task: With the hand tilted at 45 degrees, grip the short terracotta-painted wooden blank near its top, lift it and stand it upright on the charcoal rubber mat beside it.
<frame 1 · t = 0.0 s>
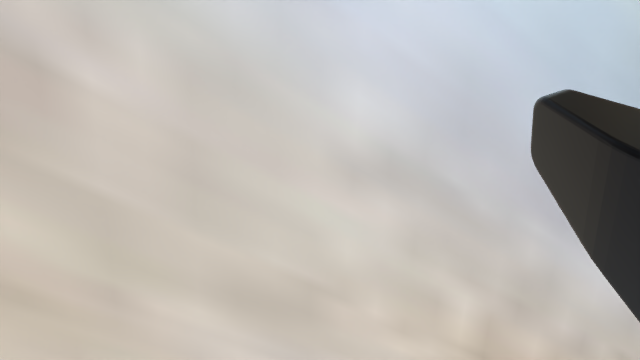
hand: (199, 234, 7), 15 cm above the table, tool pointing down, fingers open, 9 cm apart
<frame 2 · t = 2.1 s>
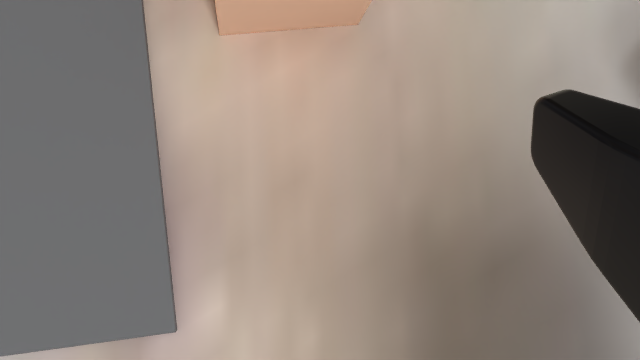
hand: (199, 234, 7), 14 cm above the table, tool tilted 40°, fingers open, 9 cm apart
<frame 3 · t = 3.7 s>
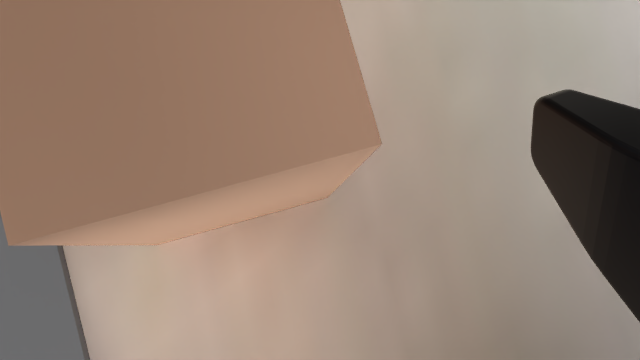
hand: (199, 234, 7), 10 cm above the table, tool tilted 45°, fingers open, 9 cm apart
terracotta block: (225, 154, 18), on the table
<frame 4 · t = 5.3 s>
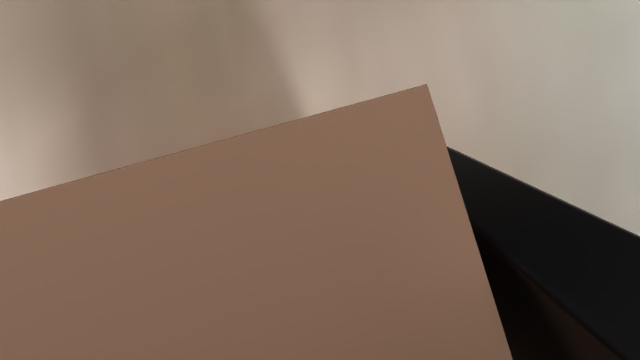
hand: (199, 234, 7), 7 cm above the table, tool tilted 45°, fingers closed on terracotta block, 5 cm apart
terracotta block: (254, 295, 14), on the table, touching gripper
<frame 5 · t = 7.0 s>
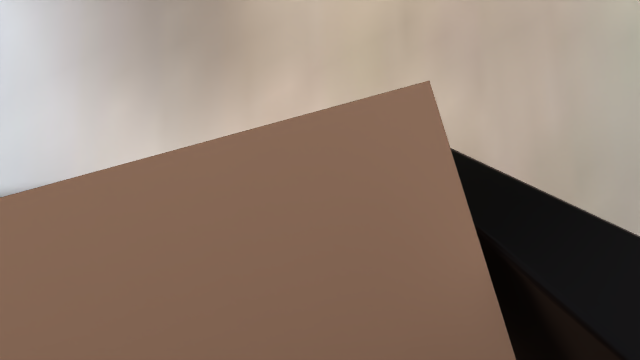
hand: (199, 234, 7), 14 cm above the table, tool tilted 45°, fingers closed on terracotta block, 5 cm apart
terracotta block: (255, 294, 14), point 6 cm above the table, touching gripper
when the fingers open (9 cm above the table, at t = 9.0 s): terracotta block drops 1 cm, resting on rubber mat.
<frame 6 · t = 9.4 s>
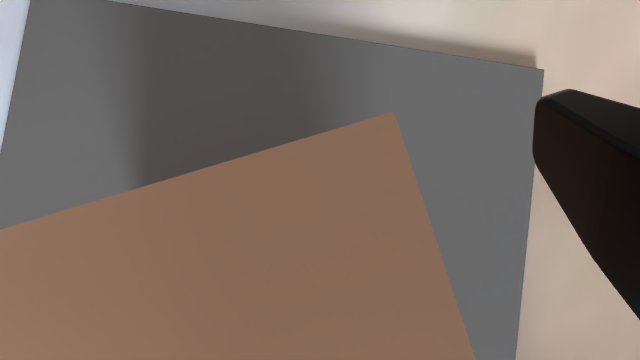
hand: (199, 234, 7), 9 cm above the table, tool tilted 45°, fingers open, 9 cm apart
terracotta block: (257, 288, 16), resting on rubber mat
rubber mat: (257, 288, 16), on the table
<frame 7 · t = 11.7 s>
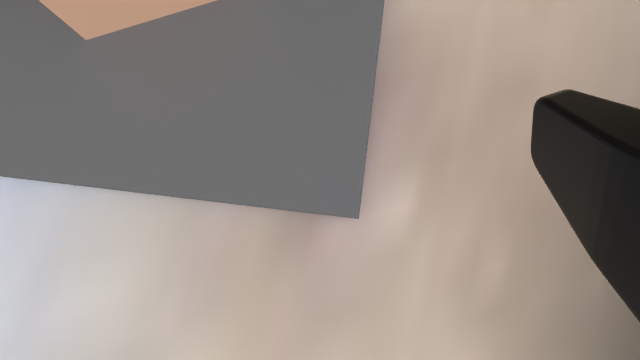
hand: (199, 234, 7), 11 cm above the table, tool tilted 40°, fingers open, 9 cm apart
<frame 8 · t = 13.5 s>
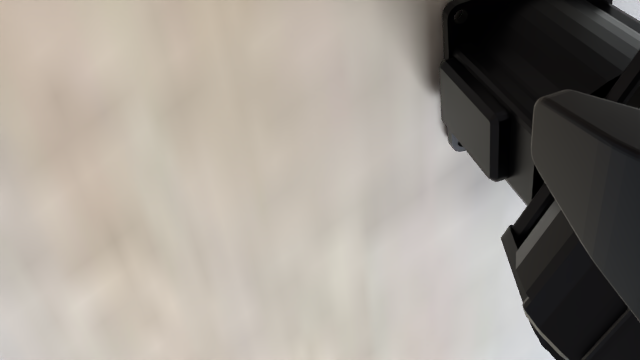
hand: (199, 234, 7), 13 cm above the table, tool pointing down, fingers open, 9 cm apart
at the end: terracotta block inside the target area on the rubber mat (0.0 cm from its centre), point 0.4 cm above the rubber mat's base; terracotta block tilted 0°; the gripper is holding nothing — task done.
